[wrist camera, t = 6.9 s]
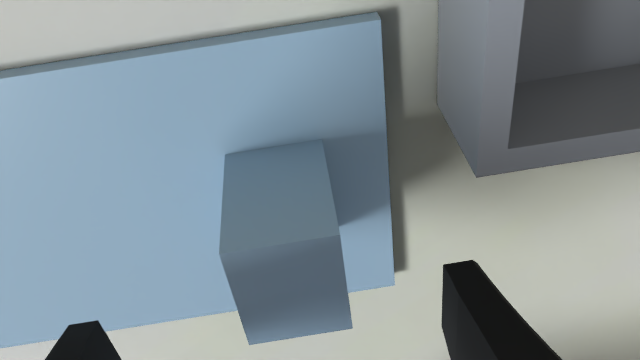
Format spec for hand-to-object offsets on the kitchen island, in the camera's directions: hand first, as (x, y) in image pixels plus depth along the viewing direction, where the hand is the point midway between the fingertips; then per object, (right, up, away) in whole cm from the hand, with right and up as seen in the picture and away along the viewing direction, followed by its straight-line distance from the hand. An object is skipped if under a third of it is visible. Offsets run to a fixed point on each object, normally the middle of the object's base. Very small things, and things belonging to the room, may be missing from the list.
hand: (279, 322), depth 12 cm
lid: (-4, +3, +3) cm, 6 cm away
